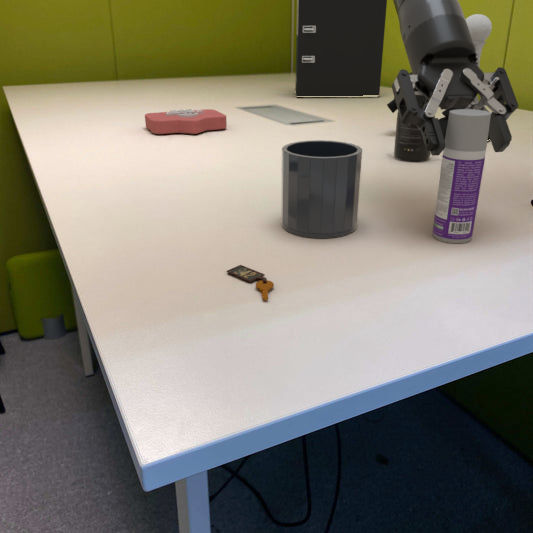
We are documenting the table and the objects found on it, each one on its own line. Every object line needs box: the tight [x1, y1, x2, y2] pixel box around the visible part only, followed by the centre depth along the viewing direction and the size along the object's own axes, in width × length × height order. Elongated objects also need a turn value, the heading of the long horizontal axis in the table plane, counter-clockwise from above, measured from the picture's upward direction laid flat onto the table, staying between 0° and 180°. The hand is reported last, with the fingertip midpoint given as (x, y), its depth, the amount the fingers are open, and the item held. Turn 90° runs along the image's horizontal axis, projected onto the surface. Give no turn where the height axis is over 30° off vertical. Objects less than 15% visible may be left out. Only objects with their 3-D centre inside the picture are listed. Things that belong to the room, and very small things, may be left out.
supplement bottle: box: [393, 91, 436, 163], centre depth 102 cm, size 7×7×12 cm
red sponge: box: [144, 108, 228, 135], centre depth 131 cm, size 18×4×15 cm
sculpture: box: [386, 13, 493, 140], centre depth 118 cm, size 15×24×25 cm, turn 82°
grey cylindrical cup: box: [280, 139, 363, 239], centre depth 70 cm, size 10×10×10 cm
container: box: [432, 109, 492, 244], centre depth 65 cm, size 5×5×15 cm
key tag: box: [226, 264, 275, 301], centre depth 56 cm, size 8×3×1 cm, turn 32°
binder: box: [294, 0, 388, 97], centre depth 179 cm, size 27×15×32 cm, turn 89°
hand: (471, 150), depth 62 cm, fingers open, 7 cm apart
